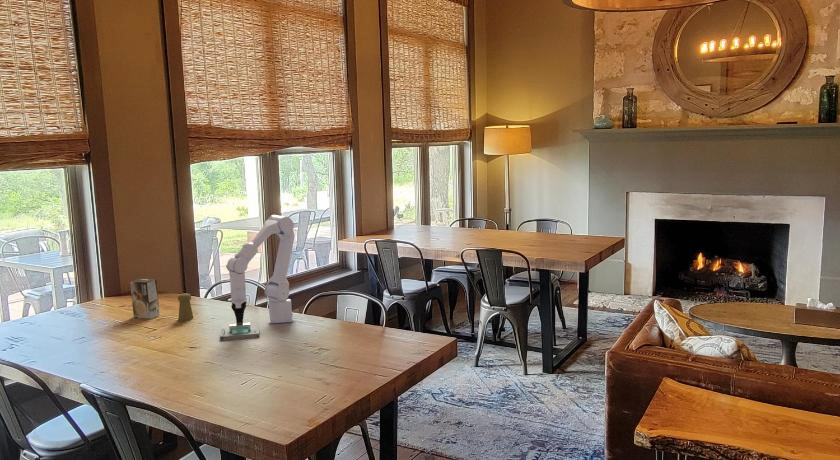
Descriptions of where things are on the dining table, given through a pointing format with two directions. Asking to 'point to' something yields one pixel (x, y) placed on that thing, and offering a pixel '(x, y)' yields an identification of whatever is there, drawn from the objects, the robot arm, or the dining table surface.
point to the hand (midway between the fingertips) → (240, 321)
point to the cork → (185, 307)
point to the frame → (238, 335)
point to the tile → (240, 331)
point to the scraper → (239, 326)
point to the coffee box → (145, 298)
